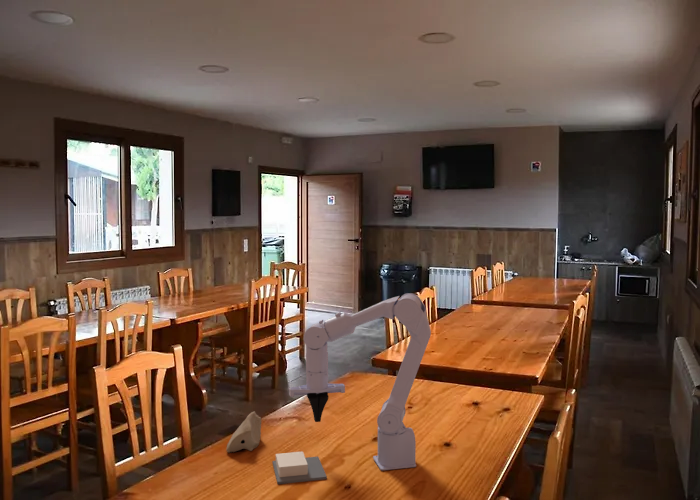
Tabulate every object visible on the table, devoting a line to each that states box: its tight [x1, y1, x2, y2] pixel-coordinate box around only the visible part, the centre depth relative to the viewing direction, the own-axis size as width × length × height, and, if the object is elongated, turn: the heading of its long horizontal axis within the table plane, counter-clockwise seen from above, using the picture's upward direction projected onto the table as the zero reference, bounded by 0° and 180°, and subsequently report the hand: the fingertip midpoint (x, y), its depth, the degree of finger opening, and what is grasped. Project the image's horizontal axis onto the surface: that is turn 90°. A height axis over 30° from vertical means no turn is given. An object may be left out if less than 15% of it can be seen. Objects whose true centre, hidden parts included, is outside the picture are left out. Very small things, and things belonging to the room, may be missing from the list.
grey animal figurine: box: [225, 411, 262, 453], centre depth 167 cm, size 8×14×8 cm, turn 176°
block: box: [275, 450, 308, 477], centre depth 150 cm, size 2×8×7 cm
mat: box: [272, 456, 328, 485], centre depth 150 cm, size 12×12×1 cm
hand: (317, 420), depth 157 cm, fingers closed
